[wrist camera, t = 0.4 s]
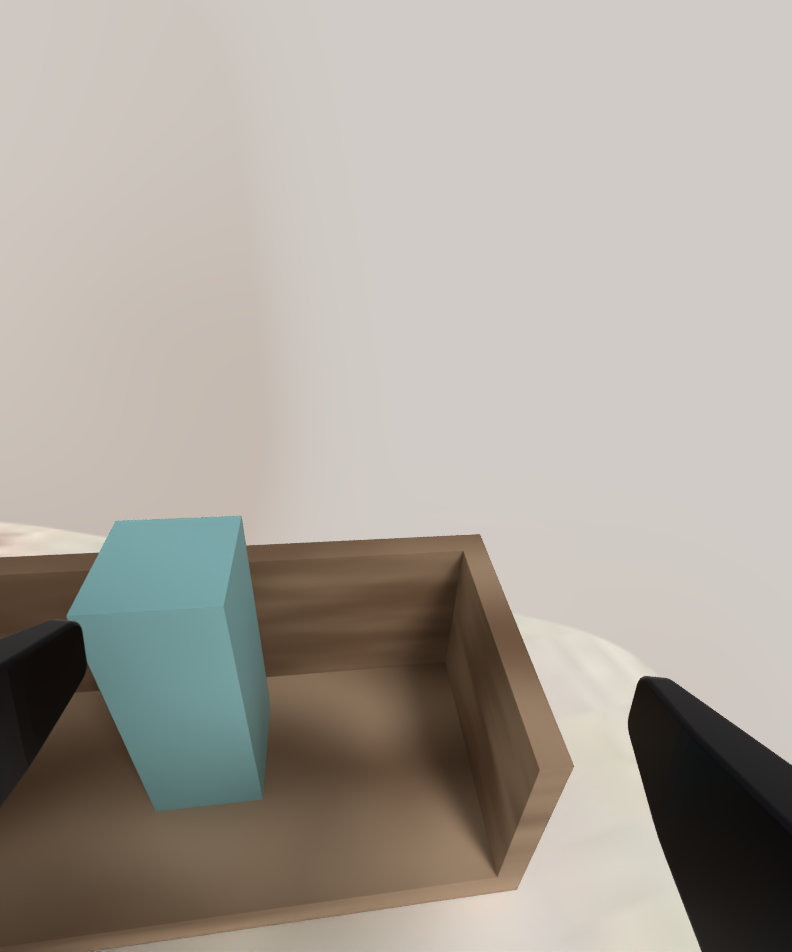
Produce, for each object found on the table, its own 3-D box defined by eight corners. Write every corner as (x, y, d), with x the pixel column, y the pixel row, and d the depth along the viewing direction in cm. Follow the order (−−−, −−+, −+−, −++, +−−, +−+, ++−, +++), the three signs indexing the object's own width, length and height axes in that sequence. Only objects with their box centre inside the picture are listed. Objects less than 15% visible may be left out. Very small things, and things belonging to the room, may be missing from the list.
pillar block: (262, 799, 20) (223, 606, 14) (155, 811, 19) (66, 616, 13) (270, 705, 23) (241, 515, 17) (179, 713, 23) (115, 521, 17)
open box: (516, 889, 19) (574, 766, 14) (-178, 989, 16) (-414, 877, 11) (457, 662, 27) (479, 534, 22) (-12, 701, 24) (-105, 562, 19)
